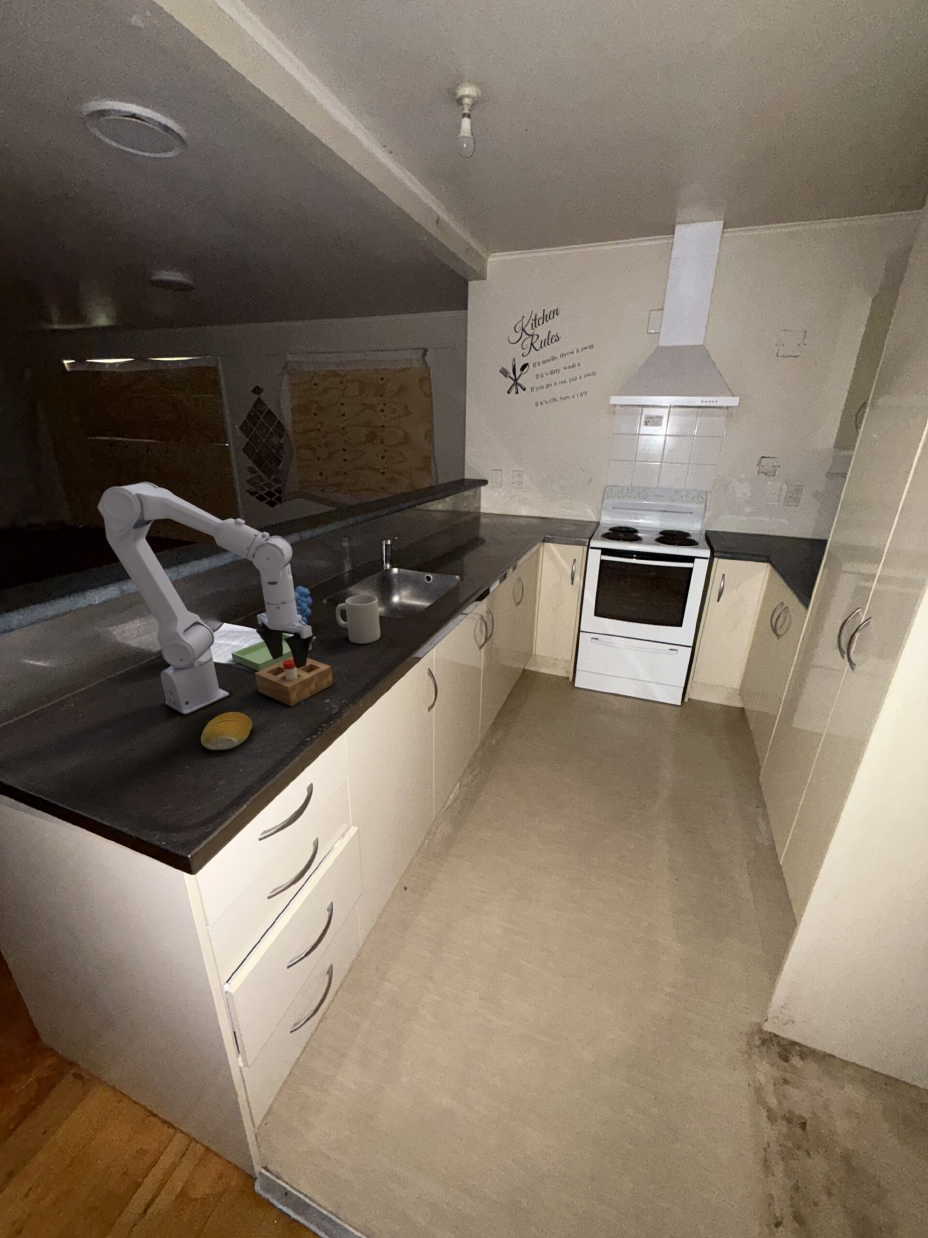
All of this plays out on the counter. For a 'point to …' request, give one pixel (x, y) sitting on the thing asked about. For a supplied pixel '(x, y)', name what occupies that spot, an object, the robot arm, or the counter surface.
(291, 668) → the marker
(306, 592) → the grapes
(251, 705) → the counter surface
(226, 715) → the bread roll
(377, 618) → the mug
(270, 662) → the tray
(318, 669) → the pen holder
